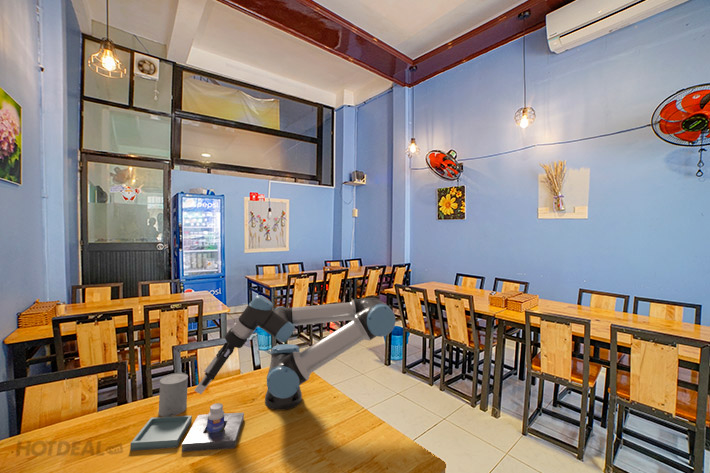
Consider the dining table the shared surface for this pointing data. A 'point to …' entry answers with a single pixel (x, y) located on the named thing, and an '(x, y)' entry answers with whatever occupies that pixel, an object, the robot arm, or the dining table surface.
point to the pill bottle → (215, 419)
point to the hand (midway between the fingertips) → (202, 381)
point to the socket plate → (213, 434)
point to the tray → (161, 433)
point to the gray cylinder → (173, 394)
